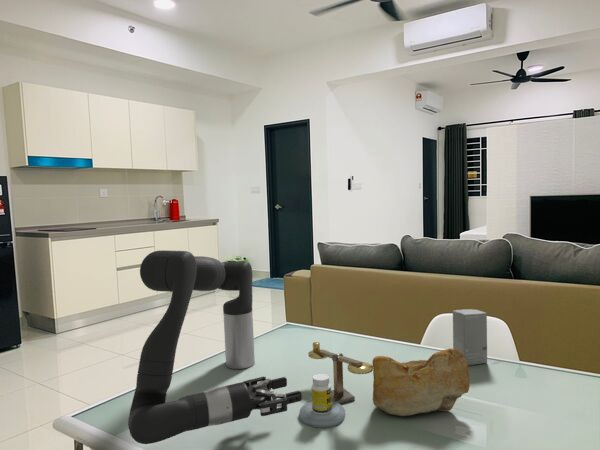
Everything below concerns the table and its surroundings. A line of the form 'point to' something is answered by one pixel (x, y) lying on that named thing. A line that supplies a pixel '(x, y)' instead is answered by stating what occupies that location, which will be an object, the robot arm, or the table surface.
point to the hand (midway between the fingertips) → (293, 388)
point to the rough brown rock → (420, 383)
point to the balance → (340, 371)
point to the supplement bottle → (321, 394)
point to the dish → (322, 416)
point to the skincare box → (470, 335)
